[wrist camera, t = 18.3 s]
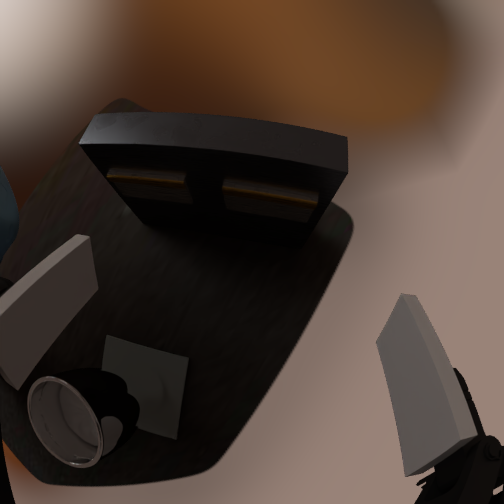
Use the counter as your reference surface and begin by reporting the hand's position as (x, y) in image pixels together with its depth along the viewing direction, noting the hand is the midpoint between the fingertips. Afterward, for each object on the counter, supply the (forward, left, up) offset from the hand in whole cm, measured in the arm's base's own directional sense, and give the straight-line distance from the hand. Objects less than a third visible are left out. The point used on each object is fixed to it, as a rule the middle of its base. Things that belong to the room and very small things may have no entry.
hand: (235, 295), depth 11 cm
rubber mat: (-10, -10, -19) cm, 24 cm away
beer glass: (-10, -10, -19) cm, 23 cm away
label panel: (-4, +10, -19) cm, 22 cm away
